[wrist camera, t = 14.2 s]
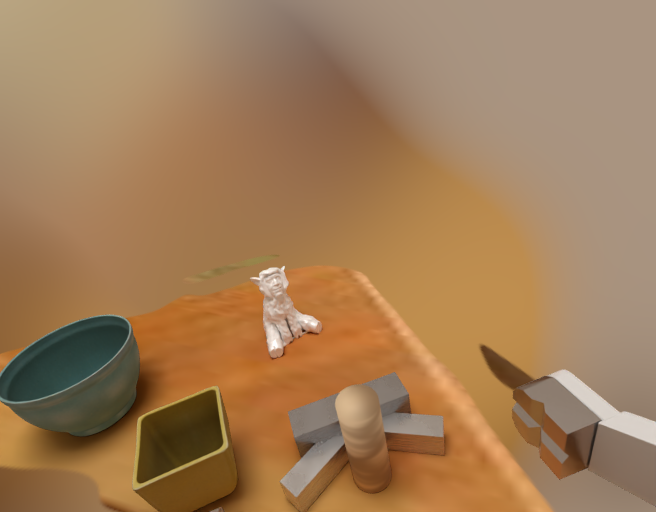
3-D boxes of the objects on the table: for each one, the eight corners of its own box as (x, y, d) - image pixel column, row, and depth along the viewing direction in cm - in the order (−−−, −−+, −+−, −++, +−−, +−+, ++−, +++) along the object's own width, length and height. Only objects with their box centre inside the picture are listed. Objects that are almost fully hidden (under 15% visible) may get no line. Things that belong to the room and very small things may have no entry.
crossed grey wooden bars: (290, 519, 38) (278, 490, 36) (276, 448, 45) (265, 420, 43) (455, 450, 41) (453, 419, 39) (417, 394, 48) (414, 364, 46)
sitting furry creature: (273, 362, 58) (251, 297, 52) (249, 336, 64) (227, 275, 59) (325, 331, 62) (309, 267, 56) (297, 309, 69) (281, 250, 63)
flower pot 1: (161, 353, 65) (133, 300, 60) (161, 426, 51) (125, 366, 46) (56, 393, 61) (17, 340, 56) (26, 484, 47) (-29, 426, 42)
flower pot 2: (254, 502, 40) (228, 447, 36) (169, 543, 38) (130, 490, 34) (241, 435, 48) (217, 383, 43) (169, 467, 46) (137, 416, 41)
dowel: (361, 499, 38) (342, 427, 33) (348, 464, 42) (329, 393, 37) (398, 484, 39) (385, 410, 34) (382, 450, 43) (369, 379, 37)
